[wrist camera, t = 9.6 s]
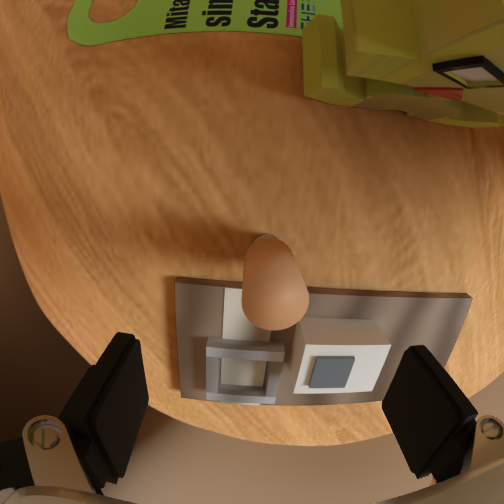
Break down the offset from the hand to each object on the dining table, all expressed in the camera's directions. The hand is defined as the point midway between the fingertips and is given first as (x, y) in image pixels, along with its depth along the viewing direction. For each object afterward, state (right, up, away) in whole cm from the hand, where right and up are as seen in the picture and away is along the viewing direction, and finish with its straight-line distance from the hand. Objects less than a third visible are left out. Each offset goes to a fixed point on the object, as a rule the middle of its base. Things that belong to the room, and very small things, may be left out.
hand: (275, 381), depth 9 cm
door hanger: (-6, +26, +8) cm, 28 cm away
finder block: (+6, -4, +15) cm, 17 cm away
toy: (+11, +18, +10) cm, 23 cm away
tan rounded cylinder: (0, +4, +14) cm, 15 cm away
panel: (+7, -5, +17) cm, 19 cm away
